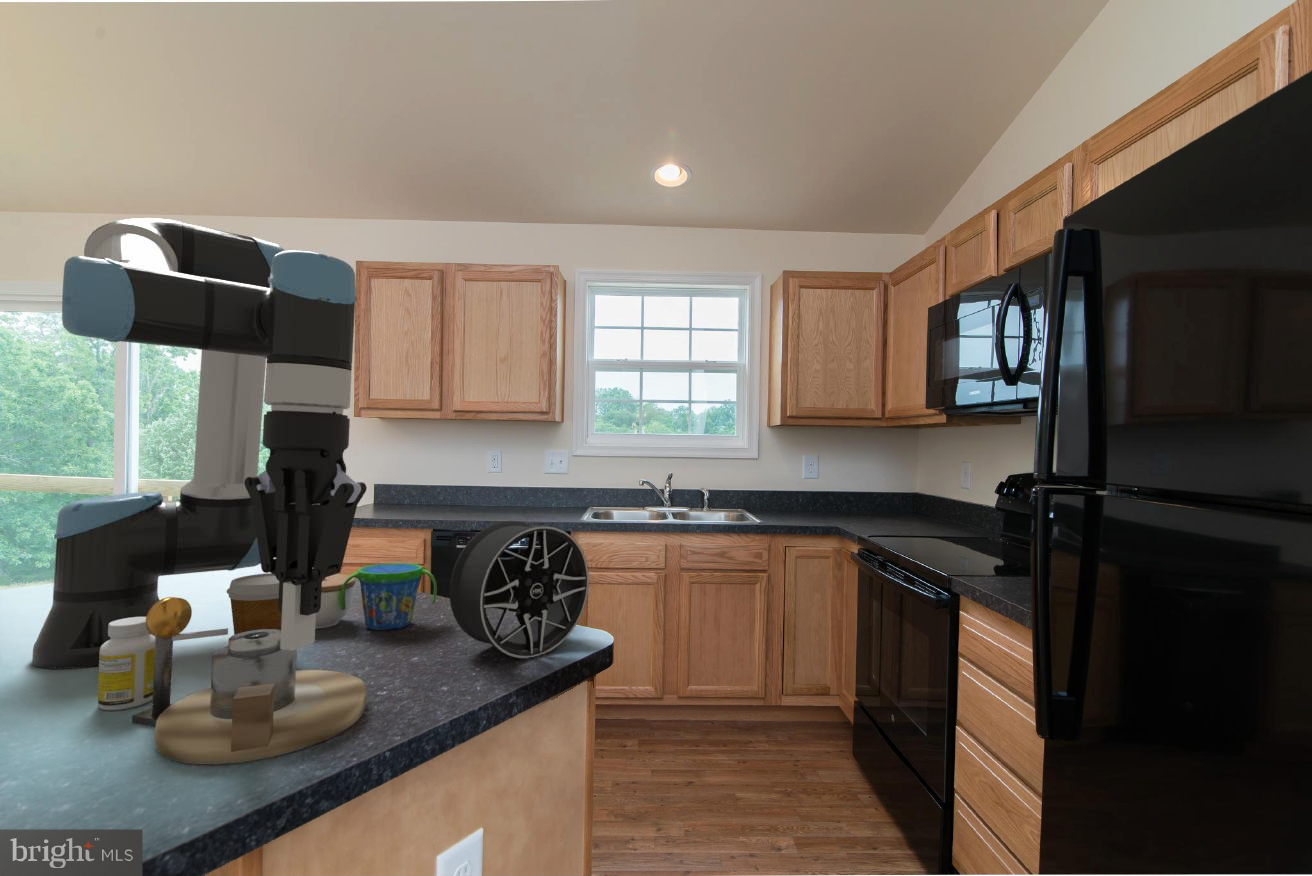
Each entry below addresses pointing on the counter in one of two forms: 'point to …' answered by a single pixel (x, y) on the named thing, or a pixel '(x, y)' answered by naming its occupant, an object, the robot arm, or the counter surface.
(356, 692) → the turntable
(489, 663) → the counter surface
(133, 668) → the supplement bottle
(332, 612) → the lidded jar
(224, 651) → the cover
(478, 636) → the wheel rim
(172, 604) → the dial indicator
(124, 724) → the counter surface
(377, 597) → the snack cup
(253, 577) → the disposable coffee cup
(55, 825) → the counter surface
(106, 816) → the counter surface
